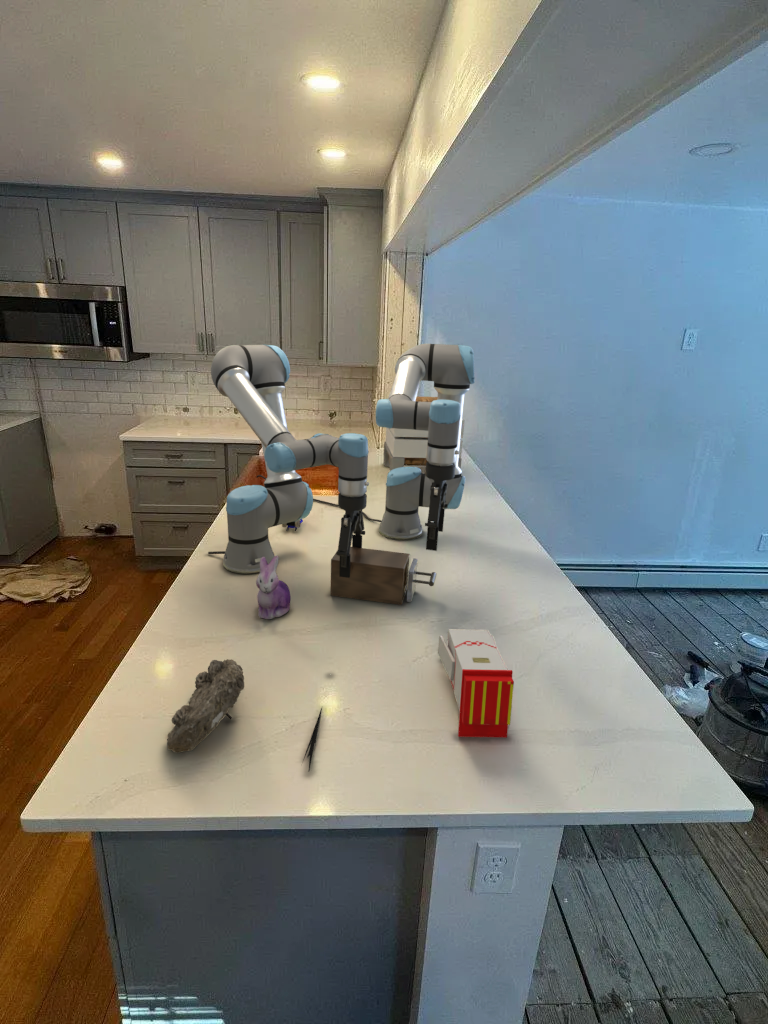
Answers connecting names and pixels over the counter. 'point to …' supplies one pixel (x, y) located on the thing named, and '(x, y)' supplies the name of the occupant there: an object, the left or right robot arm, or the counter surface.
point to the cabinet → (371, 576)
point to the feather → (313, 740)
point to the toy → (478, 682)
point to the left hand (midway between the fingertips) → (351, 566)
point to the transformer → (410, 445)
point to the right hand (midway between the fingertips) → (434, 540)
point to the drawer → (413, 581)
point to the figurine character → (292, 525)
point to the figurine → (271, 591)
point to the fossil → (206, 705)
